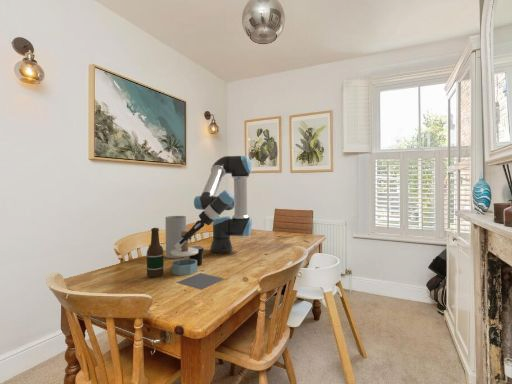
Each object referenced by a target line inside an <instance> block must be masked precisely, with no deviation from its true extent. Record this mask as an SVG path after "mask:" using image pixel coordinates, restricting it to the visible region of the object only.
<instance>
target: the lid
mask: <svg viewBox="0 0 512 384" xmlns="http://www.w3.org/2000/svg"><path fill="white" fill-rule="evenodd" d="M187 232H188V231H187V230H186V231H183V232H181V239H182V238H183V237H182V236H184V235H185V234H186V233H187ZM188 247H189V240H187V241H186V242H185V243H184V244H183V245H182V246H181V248H179V249H174V250H172V251H171V255H173V256H184V257H189V256H192V255H196V254H198V249H196V248H188Z"/></svg>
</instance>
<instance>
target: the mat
mask: <svg viewBox="0 0 512 384" xmlns="http://www.w3.org/2000/svg"><path fill="white" fill-rule="evenodd" d="M224 280H225V278H223V277H219V276H215V275H211V274H207V273H202V272H200V273H197V274H194V275H192V276H189V277H186V278H183V279H181V280H180V281H176V282H175V283H177V284H180V285H184V286H186V287H187V286H188V287H190V288H195V289H197V290H201V291H203V290H205V289H206V288H208V287H211V286H213V285H215V284H217V283H219V282H221V281H224Z"/></svg>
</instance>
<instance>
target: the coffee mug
mask: <svg viewBox="0 0 512 384" xmlns="http://www.w3.org/2000/svg"><path fill="white" fill-rule="evenodd" d="M188 248H196V249H198V254H196V255H192V256H188V257H189V258H188V259H194V260H197V267H201V266H202V265H203V258H204V257H203V255H204V246H202V245H192V246H188Z"/></svg>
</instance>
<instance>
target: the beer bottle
mask: <svg viewBox="0 0 512 384" xmlns="http://www.w3.org/2000/svg"><path fill="white" fill-rule="evenodd" d="M150 231H151V238H150V245H149V246H148V248H147V250H146V277H147V278H148V279H151V280H152V279H158V278H162V277H163V276H164V273H165V272H164V270H165V269H164V264H165V263H164V248H163V246H162V245H161V243H160V234H159V231H160V228H159V227H153V228H151V229H150Z"/></svg>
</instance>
